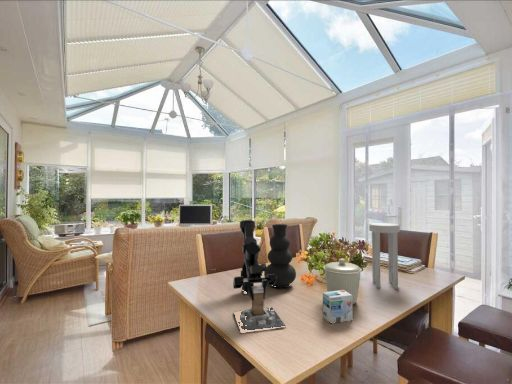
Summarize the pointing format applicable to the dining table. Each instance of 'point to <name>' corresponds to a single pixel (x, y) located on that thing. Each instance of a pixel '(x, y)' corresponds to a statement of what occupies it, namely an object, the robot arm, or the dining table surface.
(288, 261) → the vase
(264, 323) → the grey square base plate
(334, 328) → the dining table surface
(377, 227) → the stool
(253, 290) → the tan tall block
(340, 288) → the canister
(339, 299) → the light bulb box
